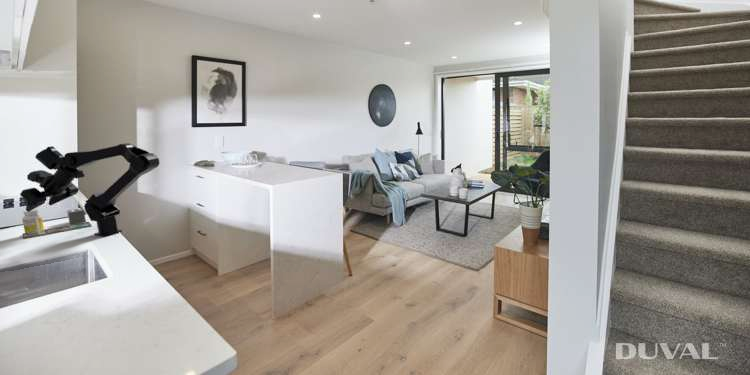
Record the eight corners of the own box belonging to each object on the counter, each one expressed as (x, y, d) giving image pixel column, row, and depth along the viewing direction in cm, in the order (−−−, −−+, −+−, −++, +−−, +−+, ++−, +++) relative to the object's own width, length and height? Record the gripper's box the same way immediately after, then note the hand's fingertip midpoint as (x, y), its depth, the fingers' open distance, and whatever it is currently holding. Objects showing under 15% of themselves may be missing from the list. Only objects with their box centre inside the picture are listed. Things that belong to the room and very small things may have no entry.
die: (84, 219, 158) (81, 207, 157) (85, 221, 154) (83, 209, 153) (69, 222, 154) (66, 209, 153) (70, 224, 151) (68, 211, 150)
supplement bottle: (31, 237, 135) (25, 212, 133) (22, 236, 137) (16, 211, 135) (48, 233, 140) (43, 209, 138) (39, 231, 142) (34, 208, 140)
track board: (88, 222, 153) (88, 221, 152) (91, 226, 148) (91, 225, 148) (22, 234, 139) (22, 233, 139) (23, 239, 134) (23, 237, 134)
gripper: (65, 159, 142) (43, 187, 144) (19, 166, 124) (-6, 198, 126) (89, 179, 144) (66, 206, 146) (47, 189, 125) (22, 220, 128)
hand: (38, 207), depth 136 cm, fingers open, 9 cm apart
